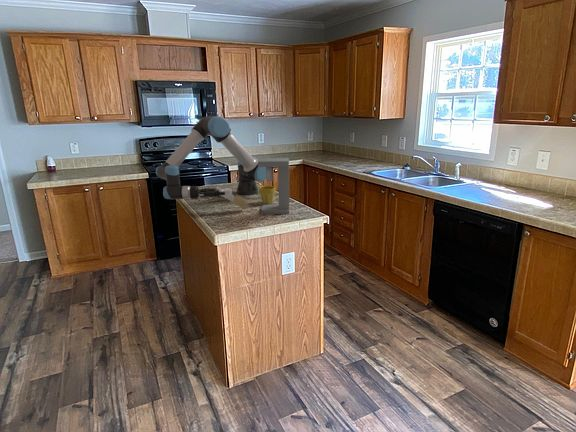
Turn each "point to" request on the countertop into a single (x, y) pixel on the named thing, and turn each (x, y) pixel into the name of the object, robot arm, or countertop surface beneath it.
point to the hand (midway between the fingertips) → (231, 192)
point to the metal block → (235, 199)
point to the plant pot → (267, 194)
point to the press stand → (282, 184)
